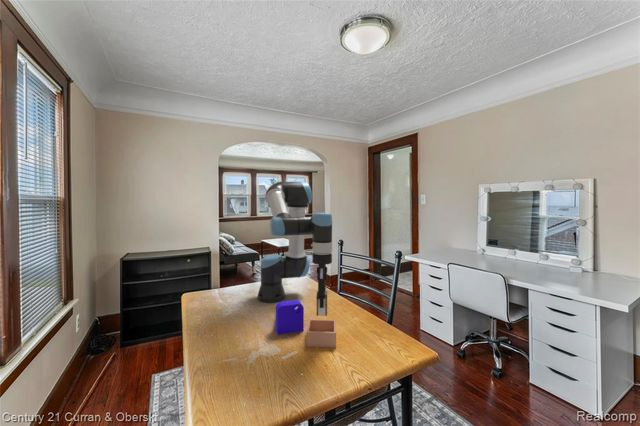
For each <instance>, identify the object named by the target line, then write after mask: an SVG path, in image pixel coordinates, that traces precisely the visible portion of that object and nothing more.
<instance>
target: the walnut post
mask: <svg viewBox="0 0 640 426" xmlns="http://www.w3.org/2000/svg"><path fill="white" fill-rule="evenodd" d="M316 297H318V290H317V291H316ZM317 316H318V299H316V317H317ZM324 317H328V291H327V292H325V316H324Z"/></svg>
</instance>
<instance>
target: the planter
mask: <svg viewBox="0 0 640 426" xmlns="http://www.w3.org/2000/svg"><path fill="white" fill-rule="evenodd" d="M307 322H308V323H307V326H306V327H307V328H306V332H305V333H306V334H305V335H306V336H305V339H306V340H305V341H306V342H305V347H306V348H331V349H332V348H334V349H335V348H337V320H336V319H314V318H312V319H311V318H310V319H308V321H307Z"/></svg>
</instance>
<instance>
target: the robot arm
mask: <svg viewBox="0 0 640 426" xmlns="http://www.w3.org/2000/svg"><path fill="white" fill-rule="evenodd" d="M312 193H313V192H312V189H311V186H310V184H309V183H308V182H304V181H278V182H275V183H273V184H271V185H270V186H269V187H268V188H267V190H266V192H265V200H266V201H265V202H266V203H267V204H268V205H269V207H270V211H271V215H272V217H271V218H270V223H269V227H270V234H271V235H272V236H275V237H283V236H286V237H287V236H288V251H287V252H286V253H285V257H283V256H282V254H272V255H271V254H270V255H267V256H264V257H262V259H261V260H260V286H259V289H258V292H257V300H258V301H259V302H261V303H279V302H282V301H283V300H284V299H285V298H286V291H285V289H284V286H283V279H292V278H293V279H295V278H303V277H306V276H307V275H308V274H309V270H310V258H309V256H307V253H306V252H305V236H312V243H311V244H310V247H311V248H312V256H311V257H312V260H311V261H312V263H313V264H314V265H318V266H317V267H316V274H317V275H316V277H317V281H318V282H317V283H318V284H317V291H318V297H317V296H316V300H317V299H318V316H320V317H322V316H323V317H326V316H325V292H327V293H328V290H327V288H326V285H327V284H326V281H327V276H328V275H327V274H328V266H327V265H330V264H332V262H333V254H332V252H333V216H332V215H333V214H332V213H330V212H314V213H313V214H312V215H311V216H306V210H307V209H308V208H309V205H310V204H311V203H312V200H313V194H312Z"/></svg>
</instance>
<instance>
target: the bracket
mask: <svg viewBox="0 0 640 426" xmlns="http://www.w3.org/2000/svg"><path fill="white" fill-rule="evenodd" d="M304 311H305V309H304V305H303V304H302V303H301V301H300V300H298V299H294V300H286V301H285V300H284V301H278V302H276V305H275V332H276V334H277V336H279V335H286V334H292V333H298V332H303V331H305V330H304V329H305V327H304V326H305V325H304V324H305V323H304V322H305V320H304V319H305V318H304V317H305V316H304V313H305V312H304Z"/></svg>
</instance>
